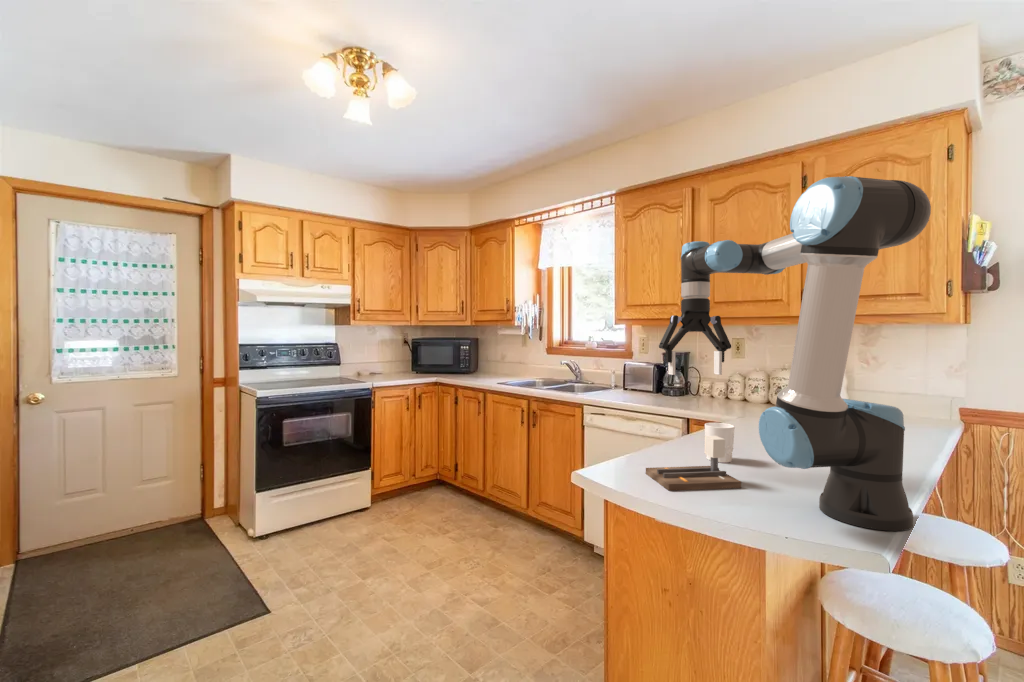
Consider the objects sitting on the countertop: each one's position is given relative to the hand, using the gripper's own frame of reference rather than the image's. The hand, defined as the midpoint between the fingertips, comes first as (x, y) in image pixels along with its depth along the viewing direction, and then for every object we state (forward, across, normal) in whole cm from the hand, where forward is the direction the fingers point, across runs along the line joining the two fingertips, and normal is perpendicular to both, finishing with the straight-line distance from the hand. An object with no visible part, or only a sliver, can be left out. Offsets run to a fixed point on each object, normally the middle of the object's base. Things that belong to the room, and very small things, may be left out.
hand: (694, 374), depth 133 cm
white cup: (+25, -9, -2) cm, 26 cm away
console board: (+25, +9, +15) cm, 30 cm away
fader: (+23, +3, +15) cm, 27 cm away
